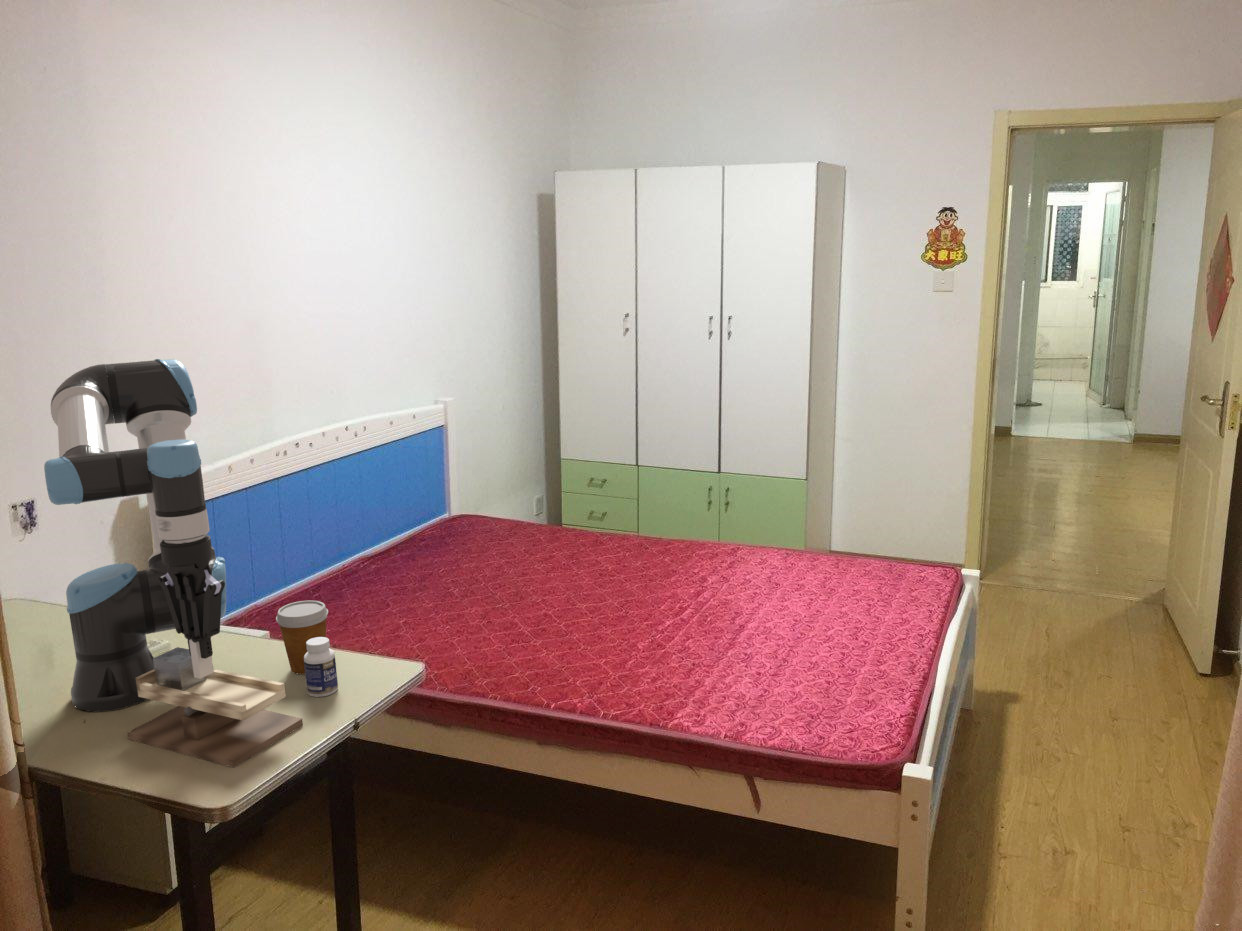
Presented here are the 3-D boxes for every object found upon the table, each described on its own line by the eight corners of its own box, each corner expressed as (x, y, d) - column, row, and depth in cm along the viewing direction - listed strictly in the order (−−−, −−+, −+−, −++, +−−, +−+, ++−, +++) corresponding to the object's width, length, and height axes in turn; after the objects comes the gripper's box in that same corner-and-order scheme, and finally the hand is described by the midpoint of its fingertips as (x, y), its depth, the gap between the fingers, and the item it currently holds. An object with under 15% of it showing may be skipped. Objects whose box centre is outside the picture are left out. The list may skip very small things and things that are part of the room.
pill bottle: (329, 698, 180) (324, 647, 178) (302, 697, 181) (296, 646, 179) (343, 685, 185) (338, 635, 183) (316, 684, 186) (311, 634, 184)
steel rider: (157, 686, 169) (152, 658, 168) (181, 674, 174) (177, 647, 173) (182, 691, 167) (178, 663, 166) (206, 679, 171) (202, 651, 170)
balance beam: (136, 704, 169) (132, 679, 168) (185, 679, 178) (182, 656, 177) (242, 728, 158) (238, 701, 157) (288, 701, 167) (285, 676, 166)
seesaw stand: (128, 739, 168) (124, 711, 167) (200, 701, 181) (197, 675, 180) (234, 767, 157) (230, 738, 156) (302, 725, 170) (299, 697, 169)
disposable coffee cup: (334, 673, 190) (328, 613, 188) (281, 681, 188) (274, 620, 185) (333, 654, 199) (327, 596, 197) (282, 661, 197) (275, 603, 194)
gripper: (137, 539, 161) (157, 677, 166) (194, 547, 156) (213, 690, 161) (176, 527, 168) (195, 660, 173) (232, 534, 162) (250, 672, 167)
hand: (204, 674), depth 167 cm, fingers closed
